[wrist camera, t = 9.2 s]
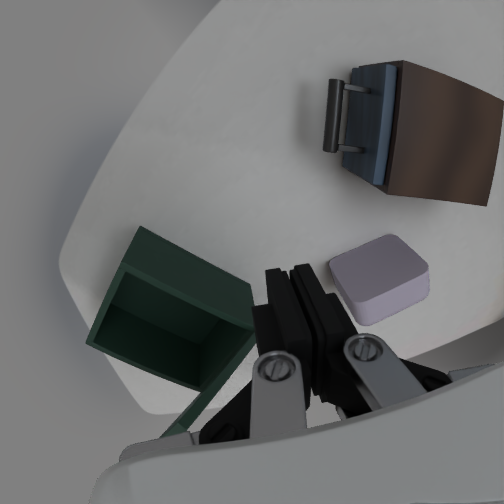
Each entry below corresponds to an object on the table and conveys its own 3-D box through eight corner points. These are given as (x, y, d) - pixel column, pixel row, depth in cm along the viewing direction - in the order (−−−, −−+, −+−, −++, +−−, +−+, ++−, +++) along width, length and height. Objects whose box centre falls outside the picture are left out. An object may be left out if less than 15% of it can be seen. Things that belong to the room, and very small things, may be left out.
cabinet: (347, 170, 35) (386, 194, 27) (358, 66, 30) (403, 60, 21) (440, 182, 37) (486, 206, 29) (453, 93, 32) (504, 101, 23)
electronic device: (334, 287, 43) (361, 335, 34) (326, 260, 41) (354, 306, 32) (397, 259, 42) (434, 299, 33) (392, 232, 40) (433, 268, 31)
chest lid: (121, 476, 22) (161, 507, 21) (176, 422, 18) (233, 466, 17) (199, 393, 37) (227, 416, 36) (256, 329, 33) (290, 356, 32)
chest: (103, 300, 40) (85, 343, 32) (140, 225, 36) (121, 261, 28) (202, 346, 45) (201, 392, 37) (250, 284, 41) (259, 328, 33)
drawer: (306, 163, 34) (330, 180, 27) (315, 61, 29) (342, 53, 22) (433, 177, 36) (471, 197, 29) (444, 94, 31) (486, 99, 24)
